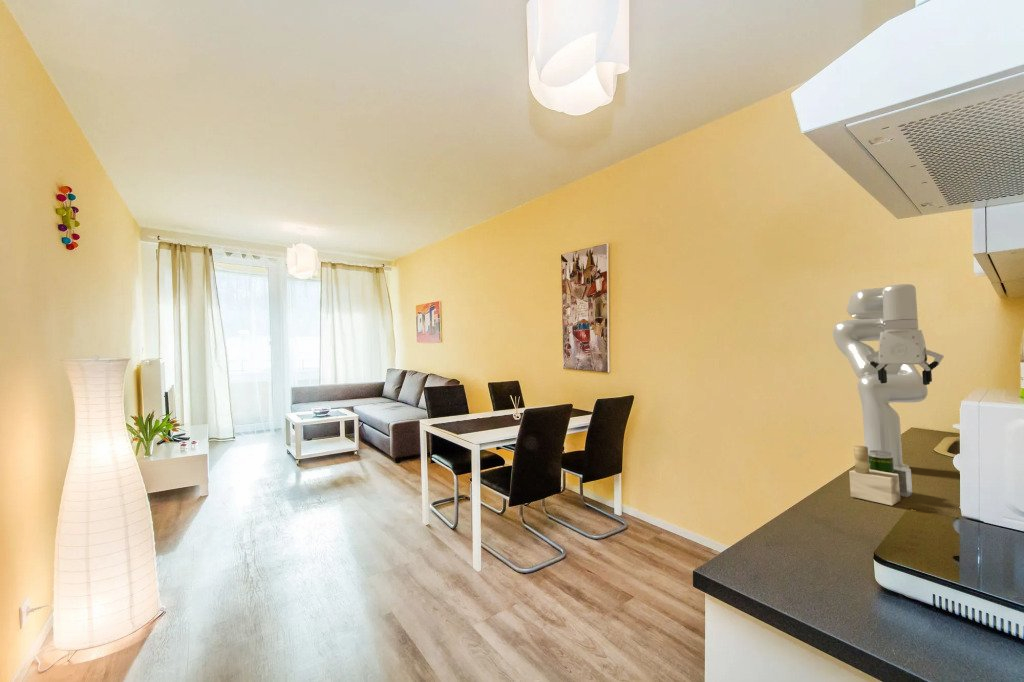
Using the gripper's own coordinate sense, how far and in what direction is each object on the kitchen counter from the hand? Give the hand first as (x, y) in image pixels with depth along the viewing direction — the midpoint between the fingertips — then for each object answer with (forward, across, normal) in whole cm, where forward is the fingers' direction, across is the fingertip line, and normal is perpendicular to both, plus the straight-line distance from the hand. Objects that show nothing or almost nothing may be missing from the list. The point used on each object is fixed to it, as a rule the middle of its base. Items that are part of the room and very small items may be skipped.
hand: (904, 383), depth 126 cm
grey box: (+30, -2, -10) cm, 32 cm away
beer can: (+31, -2, -14) cm, 34 cm away
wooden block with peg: (+30, -2, -20) cm, 36 cm away
